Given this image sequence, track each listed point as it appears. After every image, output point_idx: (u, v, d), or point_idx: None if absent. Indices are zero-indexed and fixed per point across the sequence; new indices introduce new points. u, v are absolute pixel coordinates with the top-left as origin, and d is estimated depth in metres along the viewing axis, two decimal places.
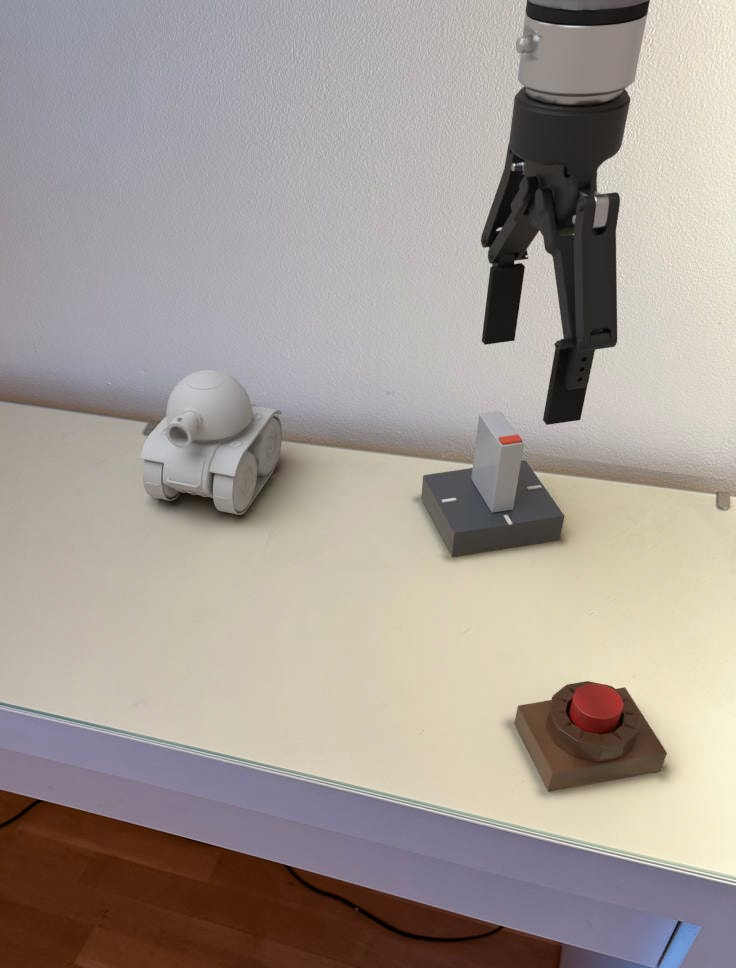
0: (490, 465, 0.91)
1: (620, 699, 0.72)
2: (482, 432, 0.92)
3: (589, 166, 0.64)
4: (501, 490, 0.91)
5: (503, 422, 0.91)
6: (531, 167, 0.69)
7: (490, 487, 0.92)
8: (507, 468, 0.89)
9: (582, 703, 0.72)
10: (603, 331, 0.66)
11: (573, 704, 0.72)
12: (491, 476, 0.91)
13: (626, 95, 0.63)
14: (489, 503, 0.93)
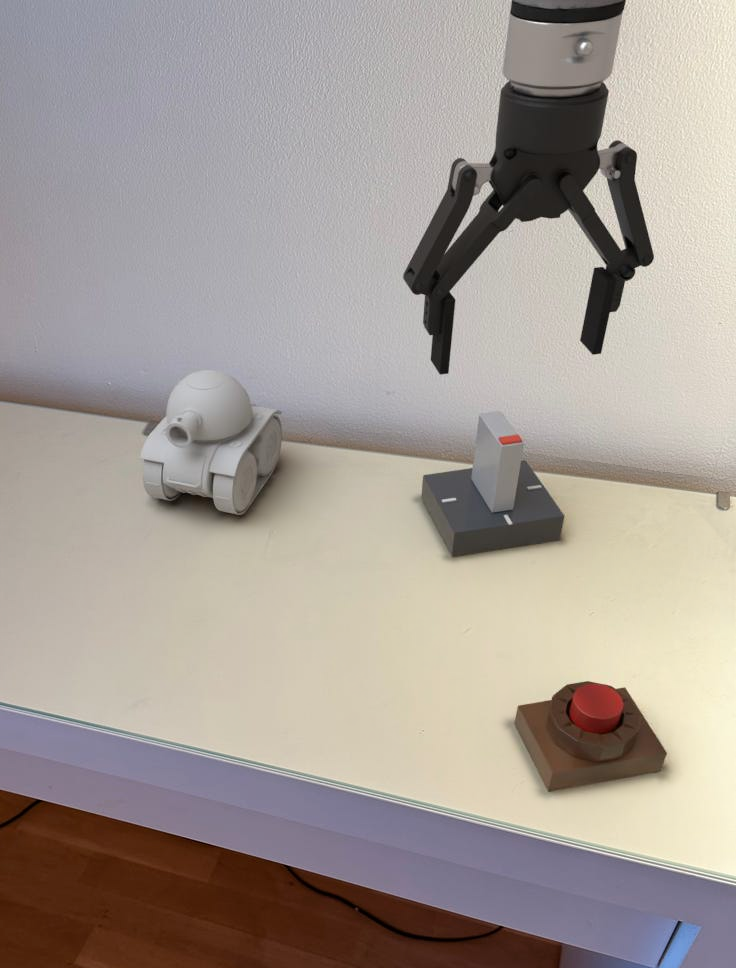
0: (490, 465, 0.91)
1: (620, 699, 0.72)
2: (482, 432, 0.92)
3: None
4: (501, 490, 0.91)
5: (503, 422, 0.91)
6: (517, 173, 0.71)
7: (490, 487, 0.92)
8: (507, 468, 0.89)
9: (582, 703, 0.72)
10: None
11: (573, 704, 0.72)
12: (491, 476, 0.91)
13: None
14: (489, 503, 0.93)
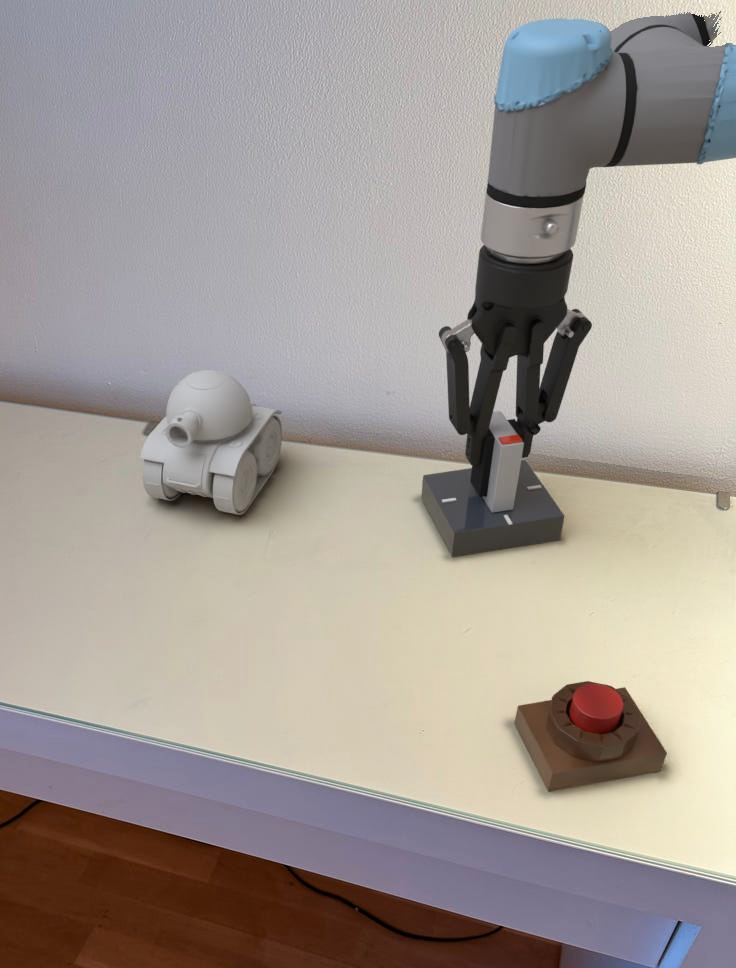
0: None
1: (620, 699, 0.72)
2: None
3: None
4: (501, 490, 0.91)
5: (503, 422, 0.91)
6: (493, 317, 0.81)
7: (490, 487, 0.92)
8: (507, 468, 0.89)
9: (582, 703, 0.72)
10: (545, 402, 0.89)
11: (573, 704, 0.72)
12: (491, 476, 0.91)
13: None
14: (489, 503, 0.93)
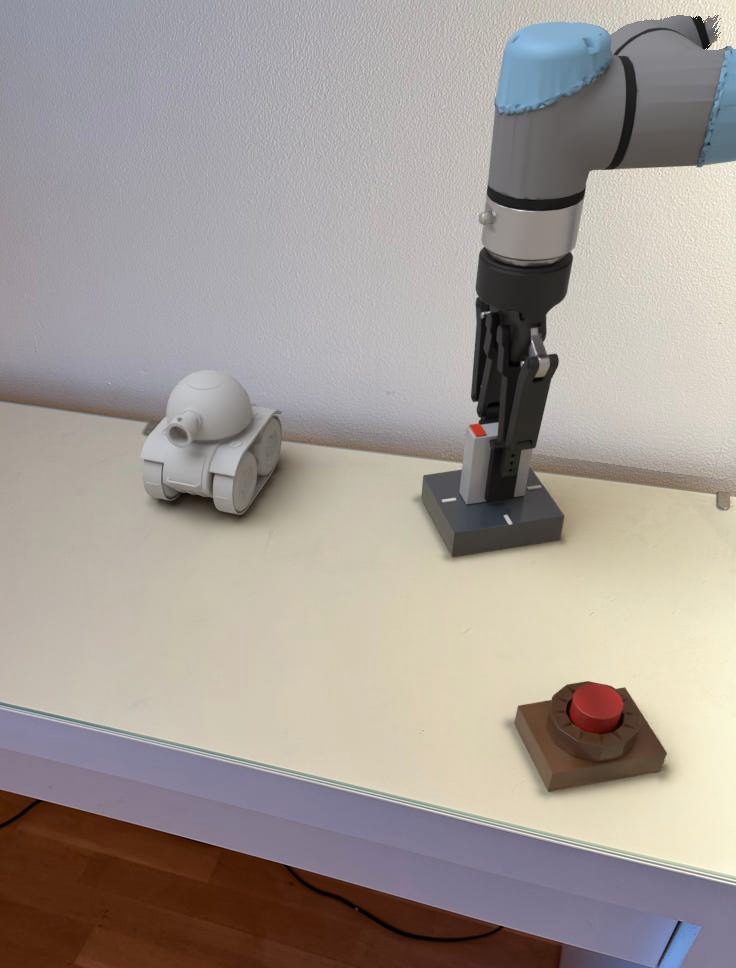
0: None
1: (620, 699, 0.72)
2: None
3: (539, 312, 0.78)
4: (463, 474, 0.93)
5: None
6: None
7: None
8: (466, 453, 0.91)
9: (582, 703, 0.72)
10: None
11: (573, 704, 0.72)
12: None
13: (569, 256, 0.78)
14: None
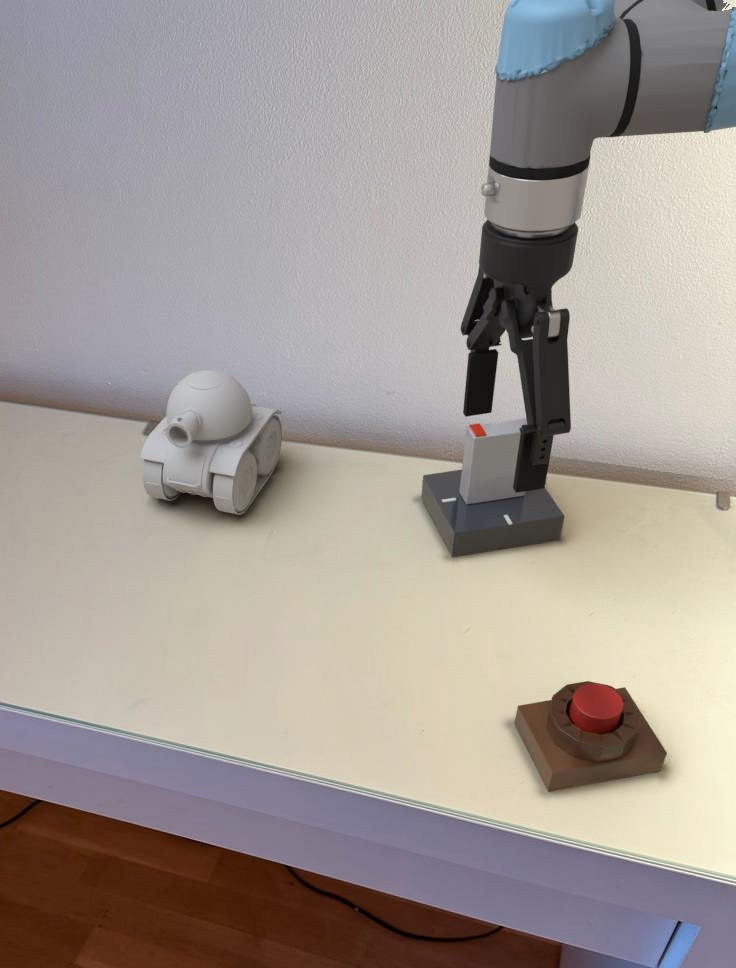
0: None
1: (620, 699, 0.72)
2: None
3: (544, 285, 0.77)
4: (463, 474, 0.93)
5: (512, 429, 0.90)
6: None
7: None
8: (466, 453, 0.91)
9: (582, 703, 0.72)
10: (559, 420, 0.79)
11: (573, 704, 0.72)
12: None
13: (574, 227, 0.76)
14: None
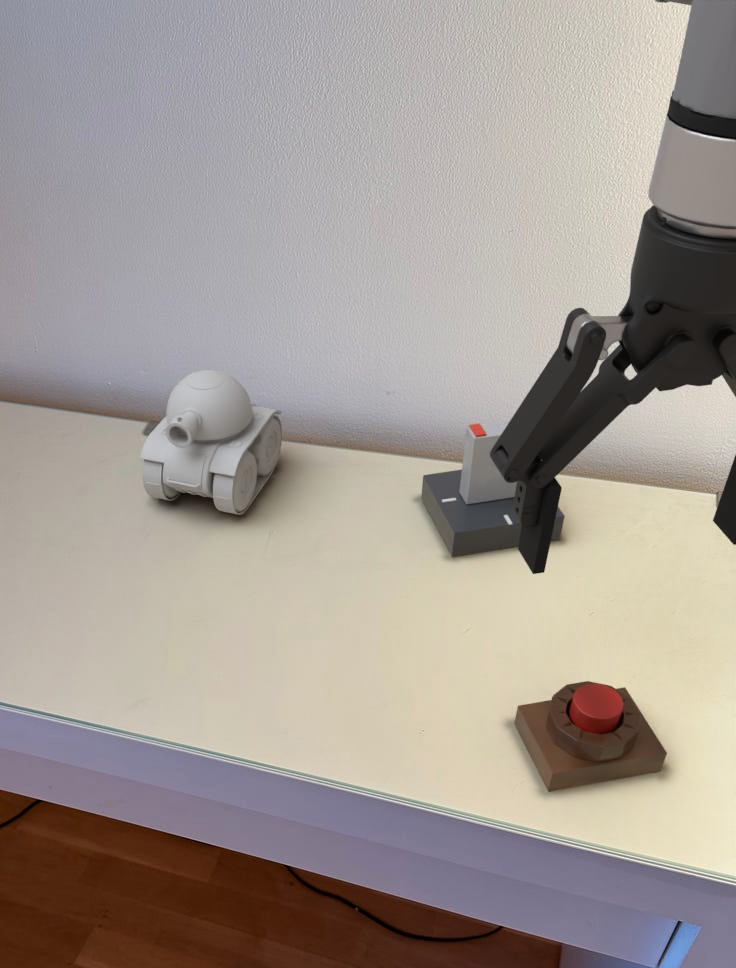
0: None
1: (620, 699, 0.72)
2: None
3: None
4: (463, 474, 0.93)
5: None
6: (661, 331, 0.51)
7: None
8: (466, 453, 0.91)
9: (582, 703, 0.72)
10: None
11: (573, 704, 0.72)
12: None
13: None
14: None
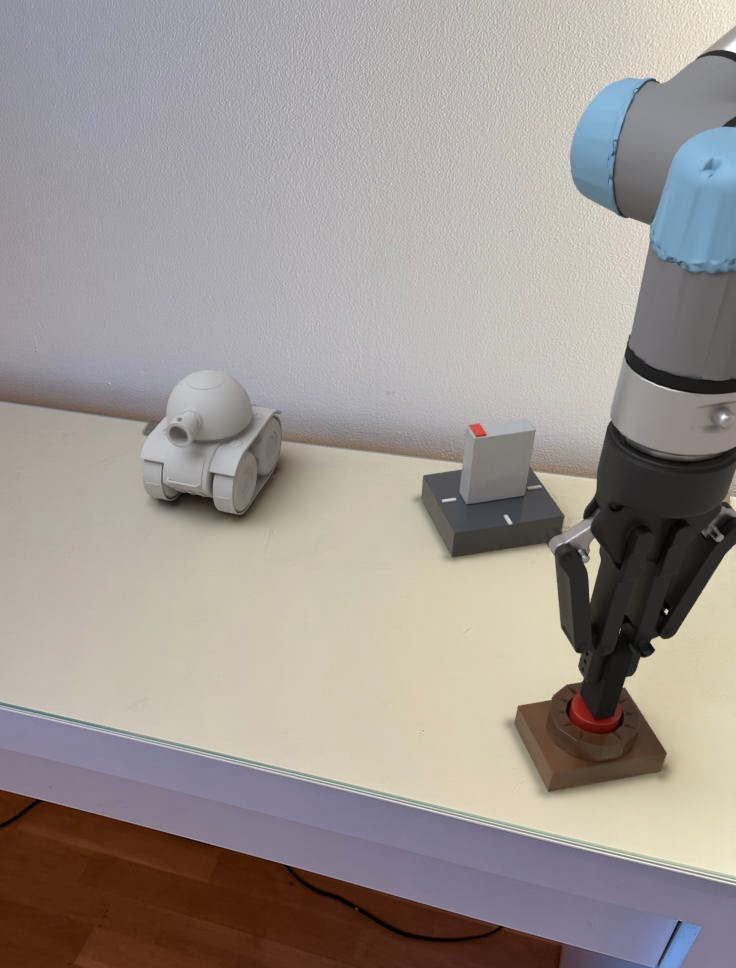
0: None
1: (618, 705, 0.72)
2: None
3: None
4: (463, 474, 0.93)
5: (512, 429, 0.90)
6: (621, 519, 0.58)
7: None
8: (466, 453, 0.91)
9: (580, 709, 0.72)
10: (659, 611, 0.67)
11: (571, 710, 0.72)
12: None
13: None
14: None
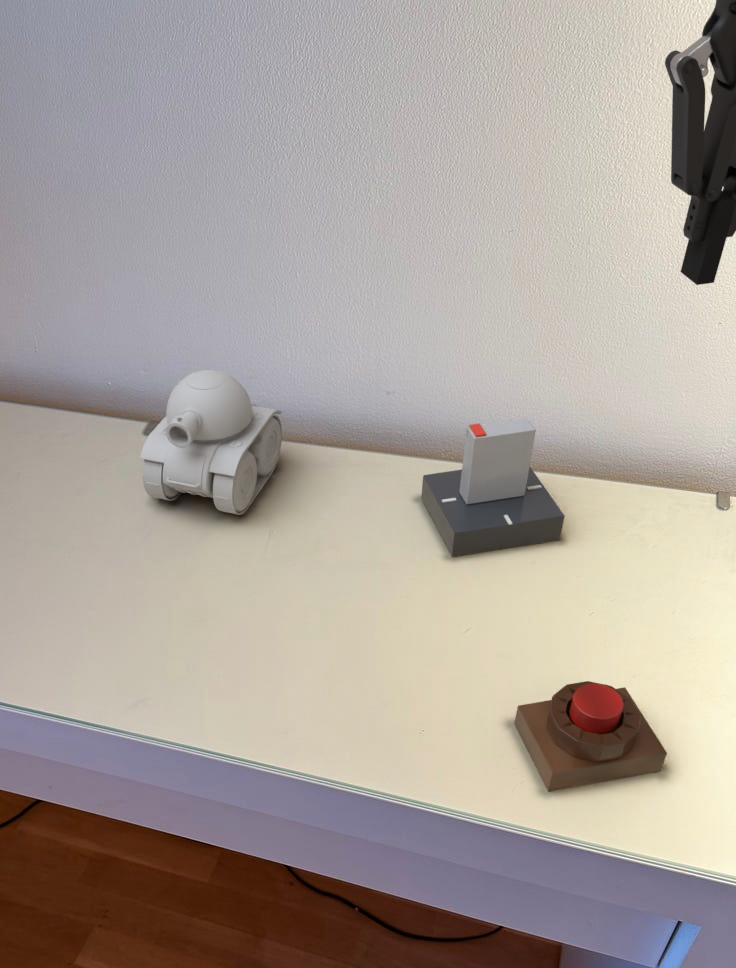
0: None
1: (620, 699, 0.72)
2: None
3: None
4: (463, 474, 0.93)
5: (512, 429, 0.90)
6: None
7: None
8: (466, 453, 0.91)
9: (582, 703, 0.72)
10: None
11: (573, 704, 0.72)
12: None
13: None
14: None
